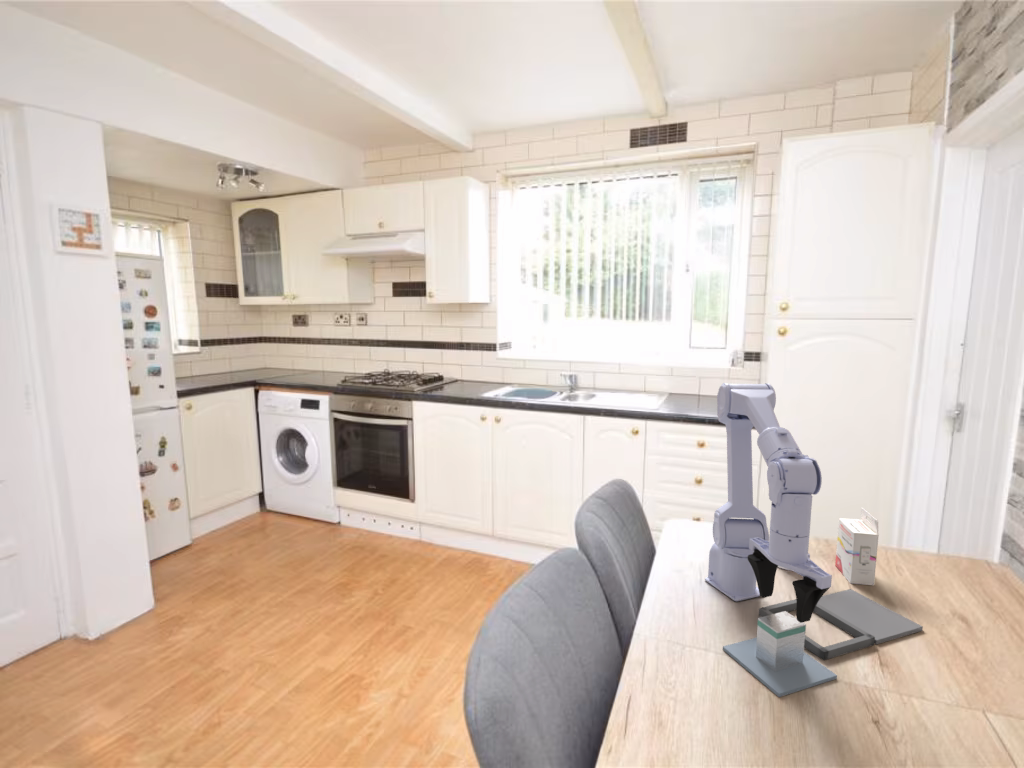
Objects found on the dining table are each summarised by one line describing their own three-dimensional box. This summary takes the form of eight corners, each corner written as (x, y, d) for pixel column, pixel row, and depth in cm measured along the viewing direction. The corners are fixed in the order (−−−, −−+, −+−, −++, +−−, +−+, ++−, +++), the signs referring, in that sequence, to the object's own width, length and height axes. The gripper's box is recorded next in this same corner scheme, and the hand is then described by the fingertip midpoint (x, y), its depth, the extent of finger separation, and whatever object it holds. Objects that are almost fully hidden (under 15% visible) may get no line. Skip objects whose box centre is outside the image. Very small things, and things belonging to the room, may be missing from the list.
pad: (722, 649, 90) (722, 646, 89) (775, 635, 93) (776, 632, 93) (778, 697, 78) (779, 693, 78) (836, 678, 82) (837, 675, 82)
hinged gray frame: (758, 615, 100) (759, 608, 100) (850, 592, 108) (850, 585, 108) (823, 660, 87) (824, 652, 86) (922, 630, 95) (923, 623, 94)
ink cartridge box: (833, 565, 120) (838, 504, 118) (857, 567, 119) (862, 506, 117) (849, 584, 111) (855, 519, 109) (875, 586, 110) (881, 520, 108)
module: (755, 656, 87) (757, 617, 86) (782, 648, 89) (785, 610, 88) (774, 671, 83) (777, 631, 82) (803, 663, 85) (805, 624, 84)
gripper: (849, 545, 78) (841, 627, 80) (772, 511, 92) (768, 582, 94) (814, 552, 76) (807, 636, 78) (741, 516, 90) (737, 589, 92)
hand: (783, 607), depth 86 cm, fingers open, 7 cm apart
